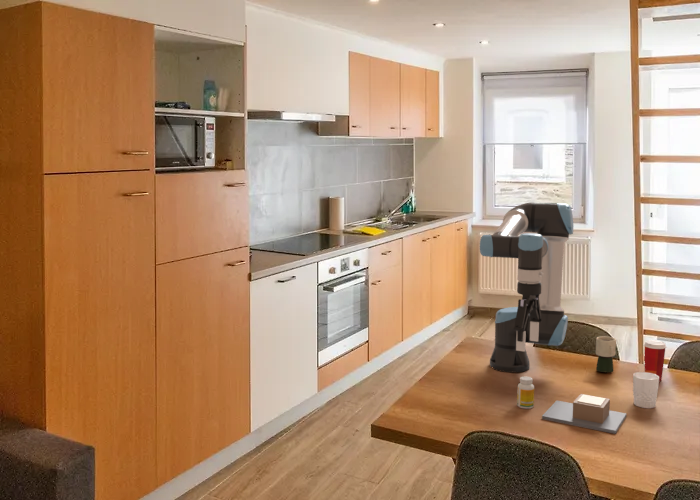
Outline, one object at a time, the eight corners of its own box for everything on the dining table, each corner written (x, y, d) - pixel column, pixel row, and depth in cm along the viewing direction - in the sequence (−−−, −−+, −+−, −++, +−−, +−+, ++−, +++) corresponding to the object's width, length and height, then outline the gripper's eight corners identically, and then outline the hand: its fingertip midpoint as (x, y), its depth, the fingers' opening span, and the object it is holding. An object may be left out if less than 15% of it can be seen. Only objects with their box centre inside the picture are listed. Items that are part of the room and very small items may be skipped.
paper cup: (660, 376, 254) (662, 339, 252) (667, 383, 246) (669, 345, 244) (638, 375, 254) (640, 339, 252) (645, 382, 247) (647, 345, 245)
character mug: (620, 375, 254) (622, 342, 253) (602, 376, 254) (604, 342, 252) (606, 366, 265) (608, 334, 263) (589, 367, 264) (590, 335, 263)
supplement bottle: (513, 404, 226) (514, 377, 224) (526, 402, 228) (527, 374, 227) (524, 410, 221) (525, 381, 220) (537, 407, 223) (538, 379, 222)
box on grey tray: (541, 418, 213) (542, 399, 213) (556, 403, 227) (557, 385, 226) (615, 433, 202) (616, 413, 201) (626, 416, 215) (627, 397, 214)
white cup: (627, 400, 229) (628, 372, 227) (649, 400, 229) (651, 371, 228) (639, 409, 221) (640, 379, 219) (662, 408, 221) (664, 379, 220)
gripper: (528, 289, 206) (526, 356, 209) (552, 276, 227) (550, 338, 230) (504, 286, 210) (502, 353, 213) (530, 274, 231) (528, 335, 234)
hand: (527, 345), depth 222 cm, fingers open, 13 cm apart
